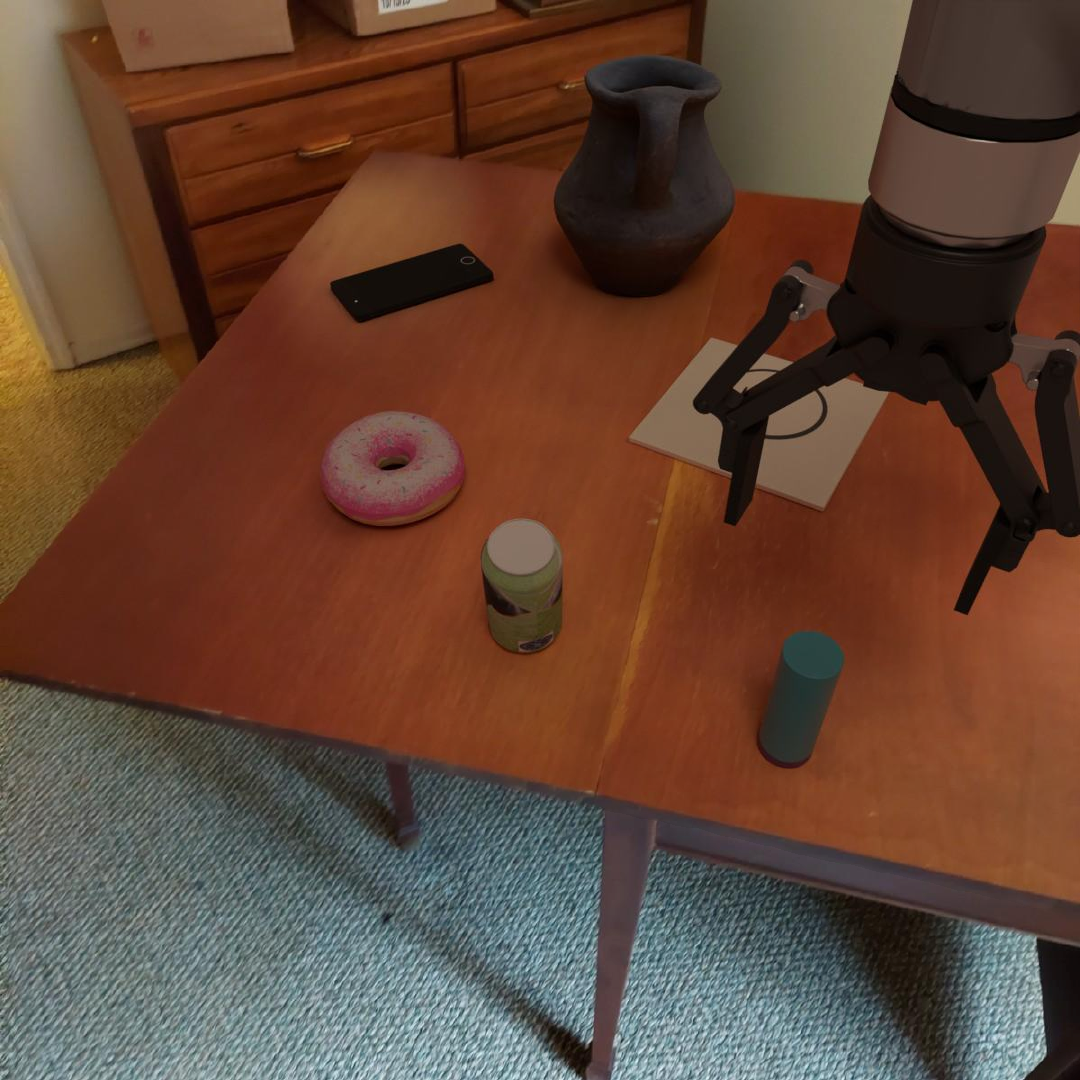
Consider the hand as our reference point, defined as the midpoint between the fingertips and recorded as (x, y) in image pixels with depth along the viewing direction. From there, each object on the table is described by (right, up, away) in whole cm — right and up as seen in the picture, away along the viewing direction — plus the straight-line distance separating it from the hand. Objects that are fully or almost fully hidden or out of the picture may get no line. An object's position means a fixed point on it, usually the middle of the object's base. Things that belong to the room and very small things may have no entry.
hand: (847, 552), depth 56 cm
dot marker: (0, -14, +15) cm, 21 cm away
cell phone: (-33, +31, +60) cm, 76 cm away
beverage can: (-19, -7, +23) cm, 30 cm away
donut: (-32, +6, +35) cm, 48 cm away
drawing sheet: (+5, +13, +41) cm, 44 cm away
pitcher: (-6, +32, +61) cm, 69 cm away
